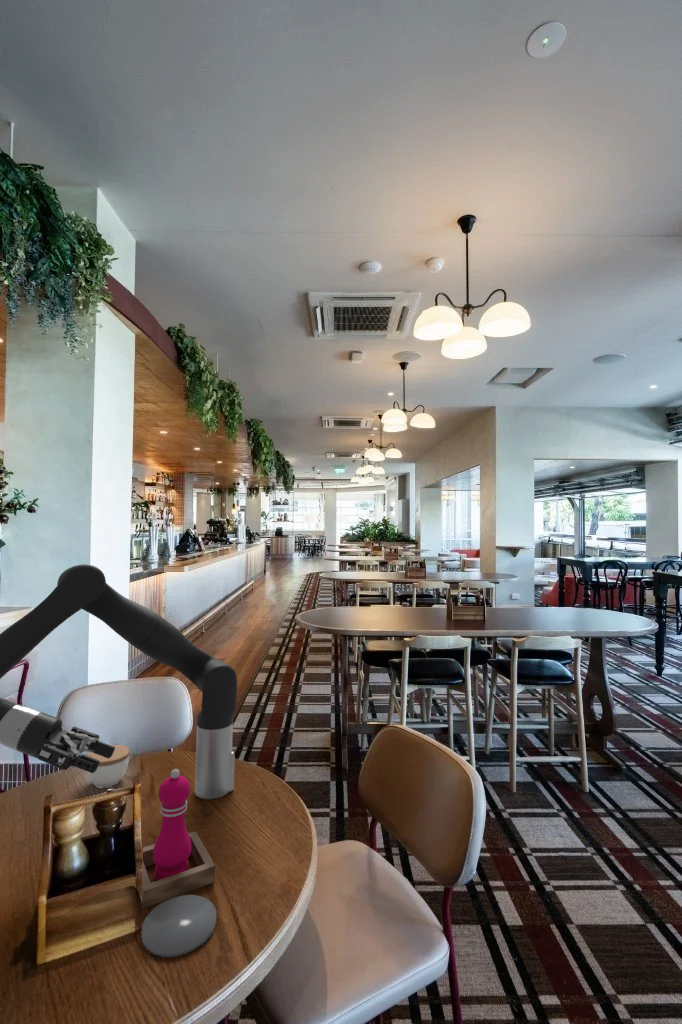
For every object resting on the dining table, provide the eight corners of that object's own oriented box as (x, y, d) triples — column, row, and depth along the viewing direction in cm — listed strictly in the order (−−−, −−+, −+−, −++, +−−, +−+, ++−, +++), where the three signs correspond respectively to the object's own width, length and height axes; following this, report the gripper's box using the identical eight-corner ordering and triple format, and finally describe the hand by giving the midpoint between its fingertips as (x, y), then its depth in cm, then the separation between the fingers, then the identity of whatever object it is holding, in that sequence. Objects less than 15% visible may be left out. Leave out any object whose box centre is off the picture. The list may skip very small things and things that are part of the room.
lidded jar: (135, 781, 130) (137, 746, 131) (94, 797, 122) (96, 759, 123) (117, 769, 137) (119, 735, 138) (77, 783, 129) (79, 747, 130)
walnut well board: (195, 845, 103) (195, 831, 103) (214, 881, 92) (215, 865, 92) (130, 866, 96) (130, 851, 96) (142, 908, 85) (143, 891, 85)
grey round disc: (204, 891, 90) (204, 886, 90) (225, 936, 80) (226, 929, 80) (135, 918, 83) (135, 911, 83) (149, 970, 73) (149, 963, 73)
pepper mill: (198, 867, 96) (201, 764, 98) (174, 891, 90) (178, 780, 91) (168, 858, 99) (172, 758, 100) (143, 882, 92) (147, 774, 93)
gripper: (19, 720, 90) (101, 752, 90) (54, 704, 103) (125, 731, 104) (-2, 761, 88) (82, 793, 89) (37, 739, 102) (109, 766, 103)
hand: (105, 760), depth 96 cm, fingers open, 8 cm apart
